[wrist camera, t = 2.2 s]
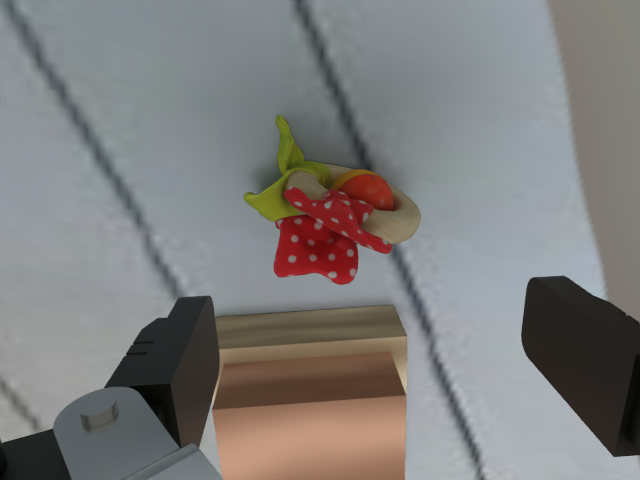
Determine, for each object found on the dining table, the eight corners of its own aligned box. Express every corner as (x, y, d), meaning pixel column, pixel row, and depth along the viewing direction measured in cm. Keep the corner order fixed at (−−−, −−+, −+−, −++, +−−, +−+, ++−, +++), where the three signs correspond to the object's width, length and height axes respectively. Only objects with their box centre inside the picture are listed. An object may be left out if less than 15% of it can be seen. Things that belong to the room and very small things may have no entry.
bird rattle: (371, 128, 29) (234, 105, 24) (508, 170, 19) (327, 147, 15) (350, 220, 31) (220, 214, 26) (465, 298, 21) (295, 309, 17)
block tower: (216, 317, 30) (189, 395, 22) (393, 304, 30) (426, 377, 23) (238, 477, 35) (222, 586, 27) (392, 464, 35) (419, 569, 27)
